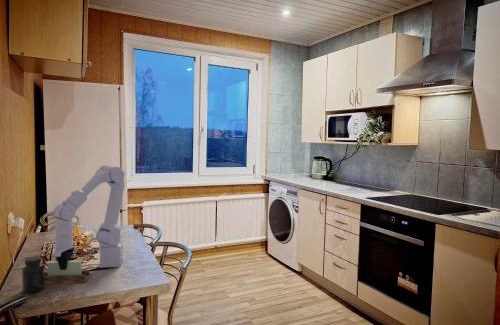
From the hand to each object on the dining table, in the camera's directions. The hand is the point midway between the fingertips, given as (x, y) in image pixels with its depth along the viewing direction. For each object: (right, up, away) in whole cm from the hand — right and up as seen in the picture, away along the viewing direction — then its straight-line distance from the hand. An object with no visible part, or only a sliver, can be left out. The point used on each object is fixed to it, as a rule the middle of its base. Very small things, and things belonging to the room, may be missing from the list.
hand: (64, 268), depth 137 cm
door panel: (0, -3, 0) cm, 3 cm away
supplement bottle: (-6, -5, -9) cm, 13 cm away
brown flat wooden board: (0, -5, 0) cm, 5 cm away
